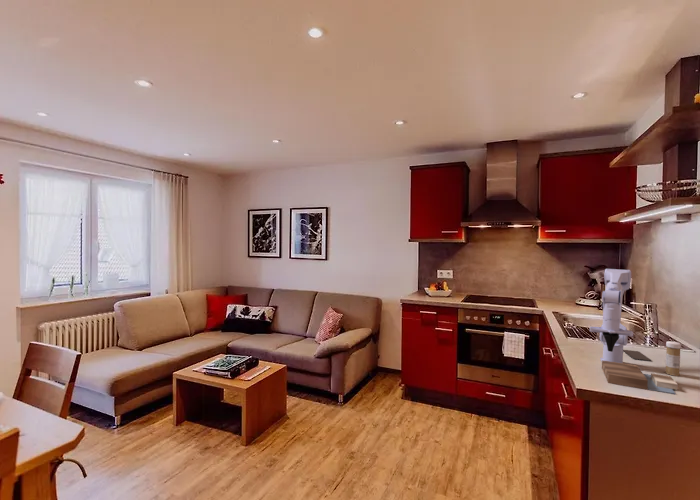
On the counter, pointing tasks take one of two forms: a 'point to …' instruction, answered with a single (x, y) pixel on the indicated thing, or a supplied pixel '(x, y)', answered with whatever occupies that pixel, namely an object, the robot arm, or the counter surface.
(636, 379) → the deck
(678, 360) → the sprinkles bottle
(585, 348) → the counter surface
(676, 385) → the cream block
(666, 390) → the mat
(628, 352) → the smartphone
